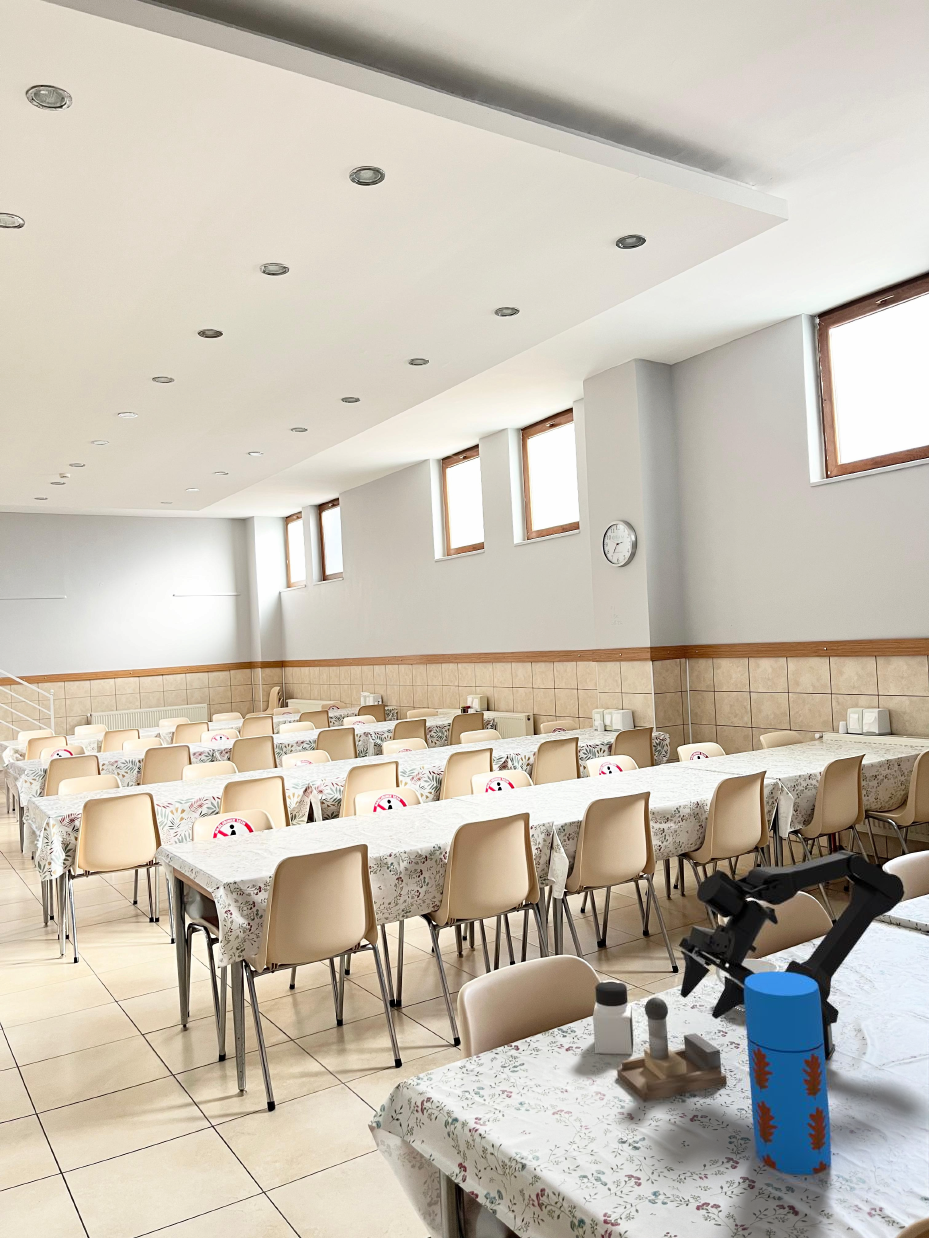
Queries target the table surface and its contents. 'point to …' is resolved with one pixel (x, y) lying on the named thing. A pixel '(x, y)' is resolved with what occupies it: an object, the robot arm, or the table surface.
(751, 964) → the mug
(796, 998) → the thermos
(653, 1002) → the press handle
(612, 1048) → the medicine bottle
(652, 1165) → the table surface
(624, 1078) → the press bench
